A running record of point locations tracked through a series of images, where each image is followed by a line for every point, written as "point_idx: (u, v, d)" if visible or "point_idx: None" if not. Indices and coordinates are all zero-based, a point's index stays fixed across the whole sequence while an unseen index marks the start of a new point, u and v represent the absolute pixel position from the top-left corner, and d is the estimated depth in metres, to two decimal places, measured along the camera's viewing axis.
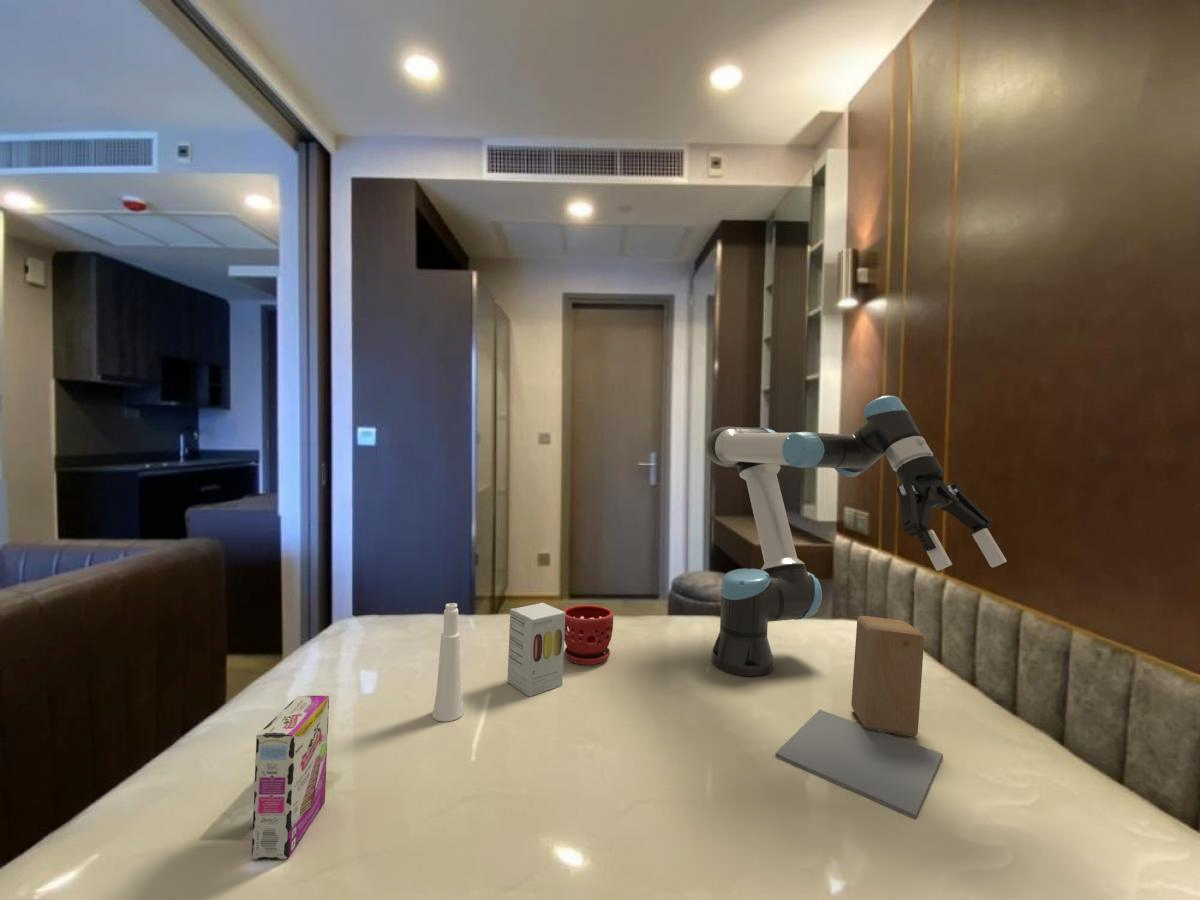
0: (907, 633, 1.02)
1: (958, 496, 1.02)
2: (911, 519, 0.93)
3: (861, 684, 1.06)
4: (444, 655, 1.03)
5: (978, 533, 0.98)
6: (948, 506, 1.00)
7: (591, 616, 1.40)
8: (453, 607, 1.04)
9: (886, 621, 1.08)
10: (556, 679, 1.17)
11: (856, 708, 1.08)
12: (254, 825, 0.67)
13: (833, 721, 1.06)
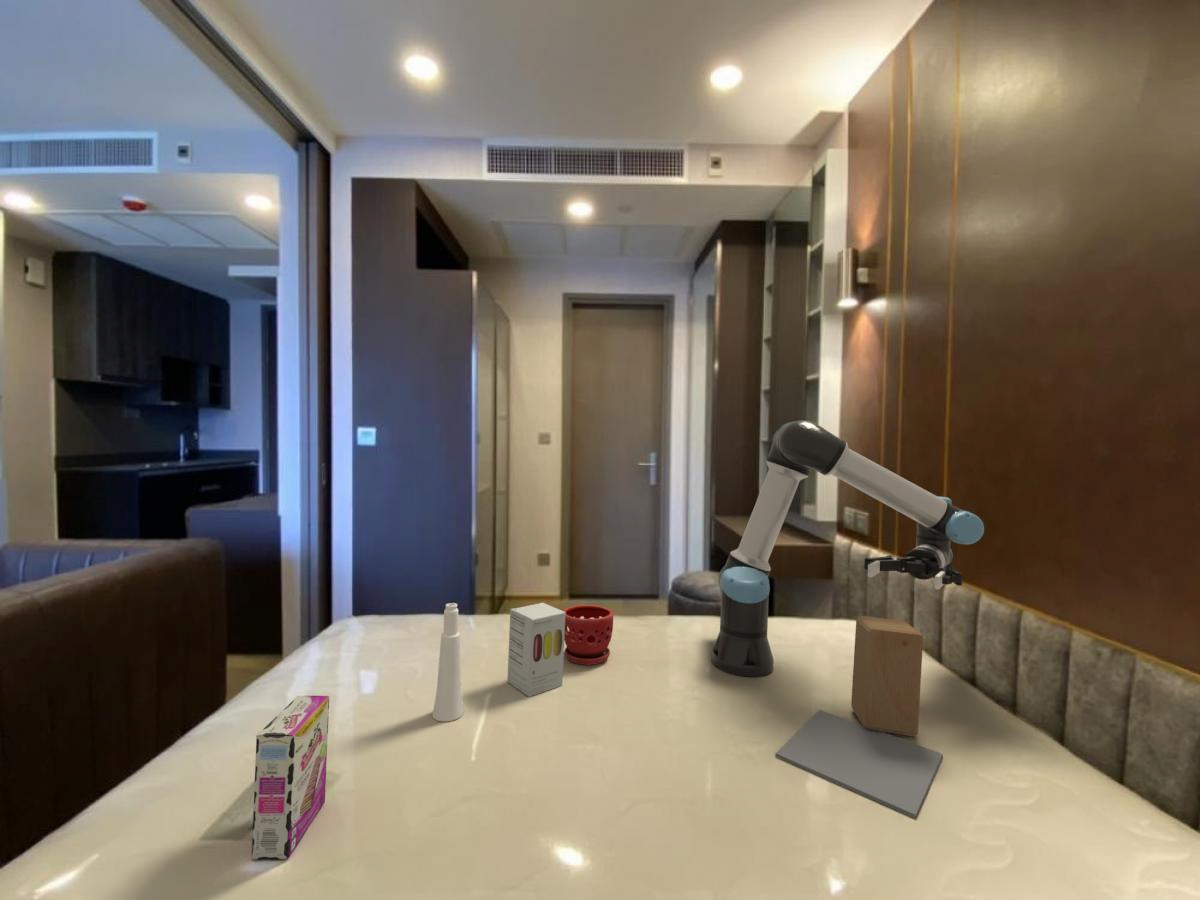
0: (906, 632, 1.02)
1: None
2: None
3: (861, 684, 1.06)
4: (444, 655, 1.03)
5: (879, 566, 1.23)
6: (901, 564, 1.25)
7: (591, 616, 1.40)
8: (453, 607, 1.04)
9: (885, 621, 1.09)
10: (556, 679, 1.17)
11: (856, 708, 1.08)
12: (254, 825, 0.67)
13: (833, 721, 1.06)
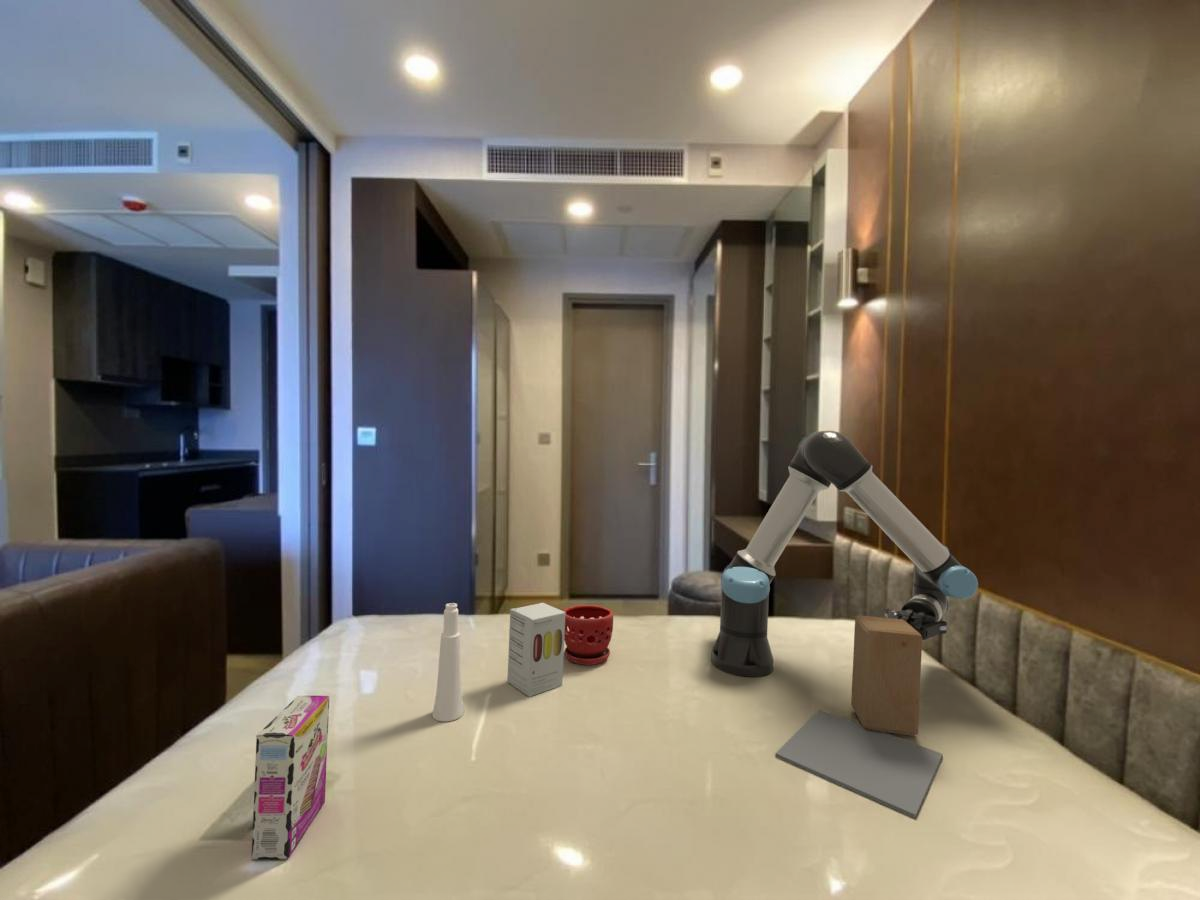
0: (905, 633, 1.02)
1: None
2: (927, 637, 1.15)
3: (860, 684, 1.06)
4: (444, 655, 1.03)
5: None
6: (909, 621, 1.22)
7: (591, 616, 1.40)
8: (453, 607, 1.04)
9: (884, 621, 1.08)
10: (556, 679, 1.17)
11: (856, 708, 1.08)
12: (254, 825, 0.67)
13: (833, 721, 1.06)
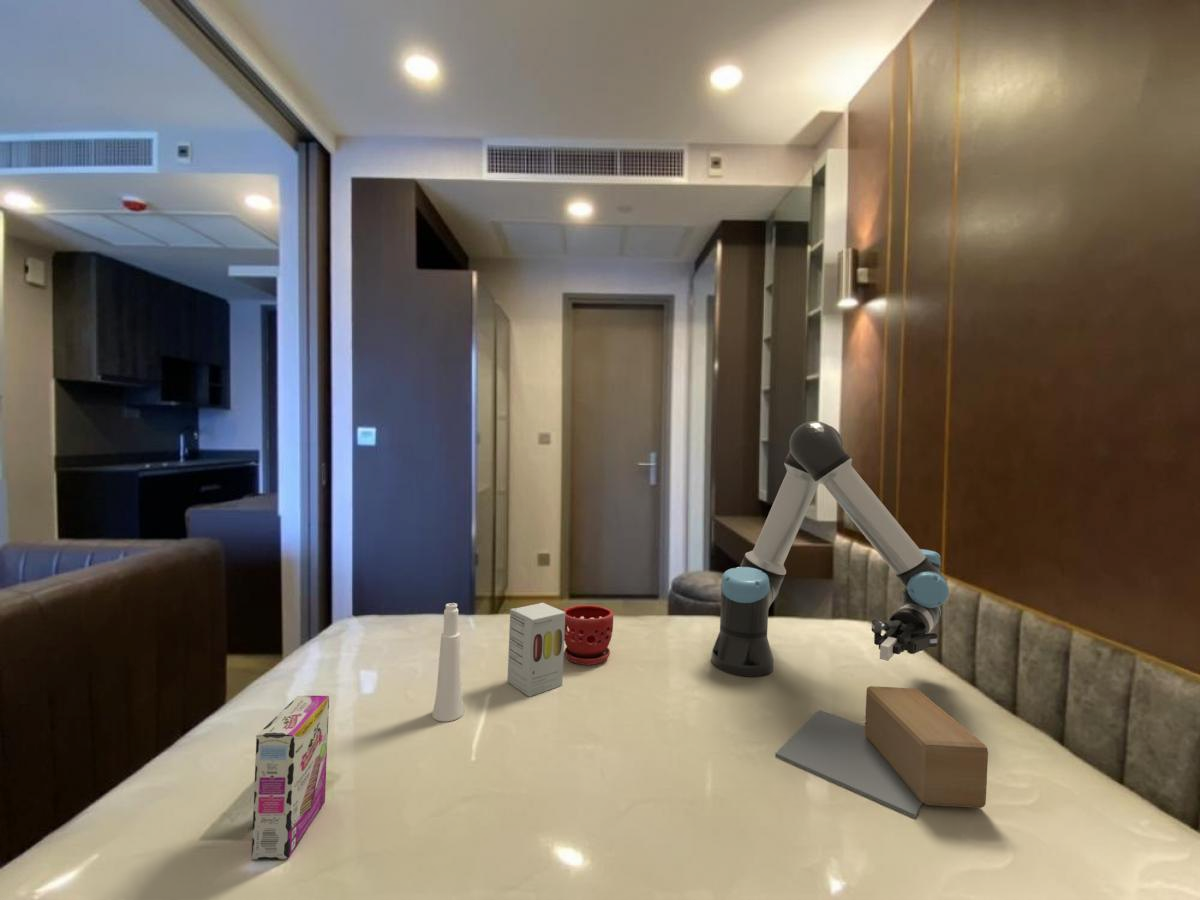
0: (966, 806, 0.81)
1: None
2: (915, 651, 1.06)
3: (883, 742, 0.93)
4: (444, 655, 1.03)
5: None
6: (897, 633, 1.14)
7: (591, 616, 1.40)
8: (453, 607, 1.04)
9: (957, 767, 0.81)
10: (556, 679, 1.17)
11: (868, 713, 0.99)
12: (254, 825, 0.67)
13: (833, 721, 1.06)
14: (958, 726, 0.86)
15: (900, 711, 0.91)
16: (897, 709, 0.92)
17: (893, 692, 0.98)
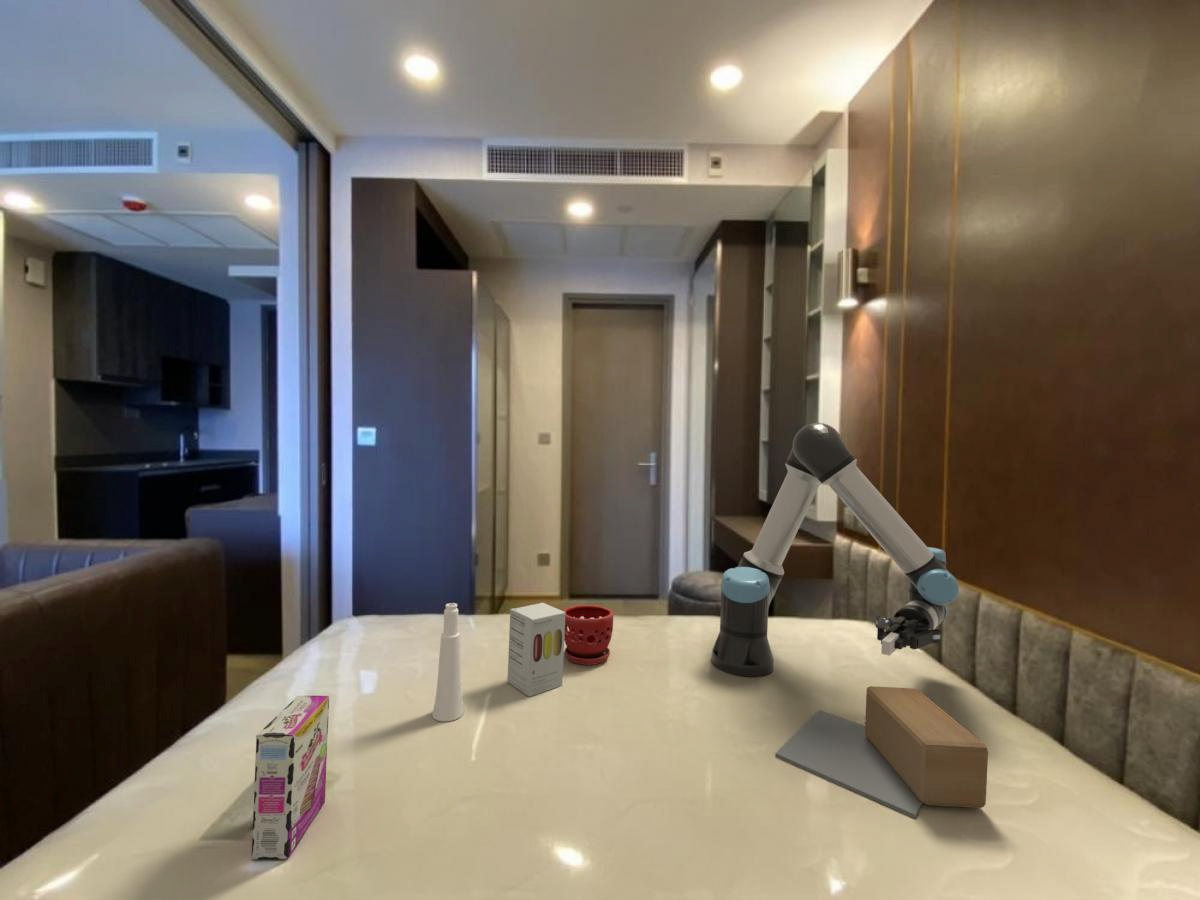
0: (966, 806, 0.81)
1: (884, 627, 1.18)
2: (918, 647, 1.08)
3: (883, 742, 0.93)
4: (444, 655, 1.03)
5: None
6: (900, 629, 1.15)
7: (591, 616, 1.40)
8: (453, 607, 1.04)
9: (957, 767, 0.81)
10: (556, 679, 1.17)
11: (868, 713, 0.99)
12: (254, 825, 0.67)
13: (833, 721, 1.06)
14: (958, 726, 0.86)
15: (900, 711, 0.91)
16: (897, 709, 0.92)
17: (893, 692, 0.98)
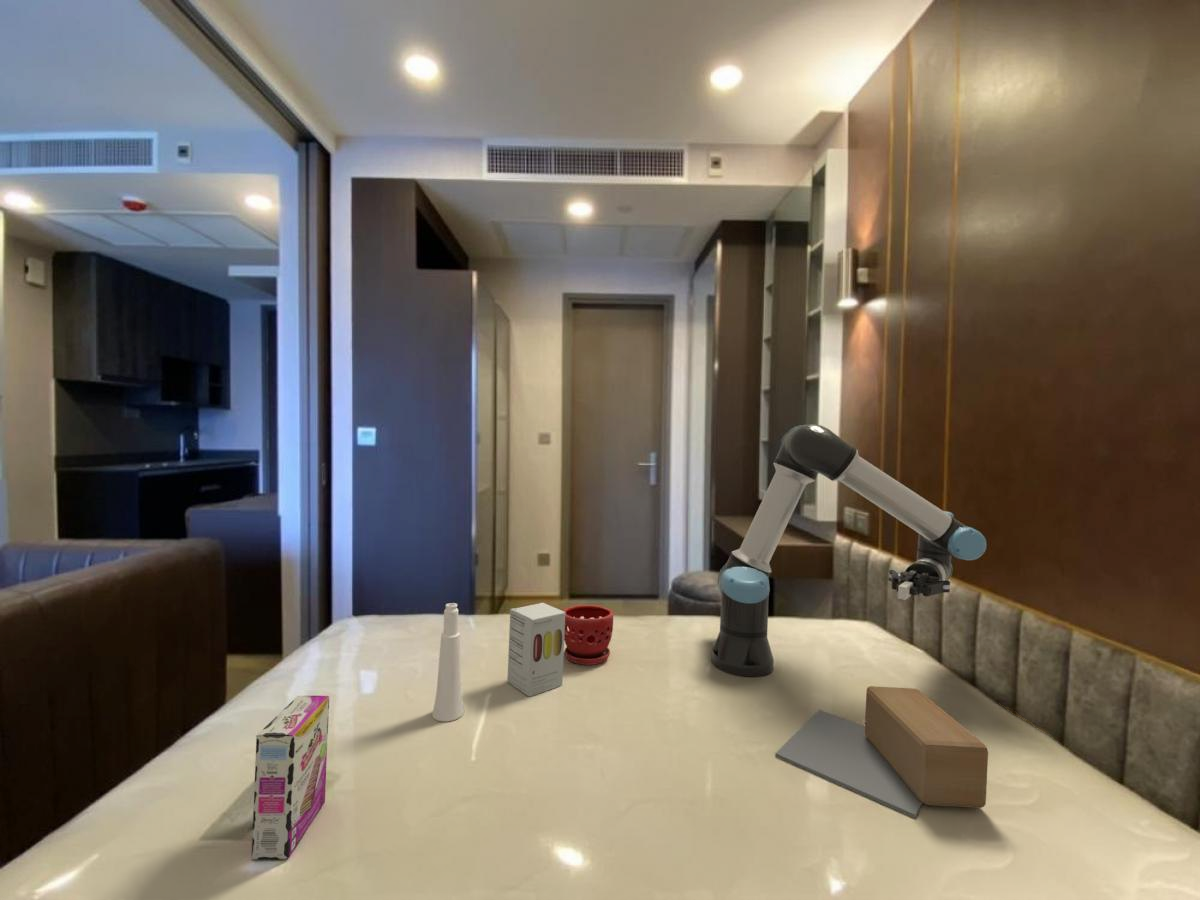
0: (966, 806, 0.81)
1: None
2: (930, 594, 1.17)
3: (883, 742, 0.93)
4: (444, 655, 1.03)
5: None
6: (913, 580, 1.24)
7: (591, 616, 1.40)
8: (453, 607, 1.04)
9: (957, 767, 0.81)
10: (556, 679, 1.17)
11: (868, 713, 0.99)
12: (254, 825, 0.67)
13: (833, 721, 1.06)
14: (958, 726, 0.86)
15: (900, 711, 0.91)
16: (897, 709, 0.92)
17: (893, 692, 0.98)
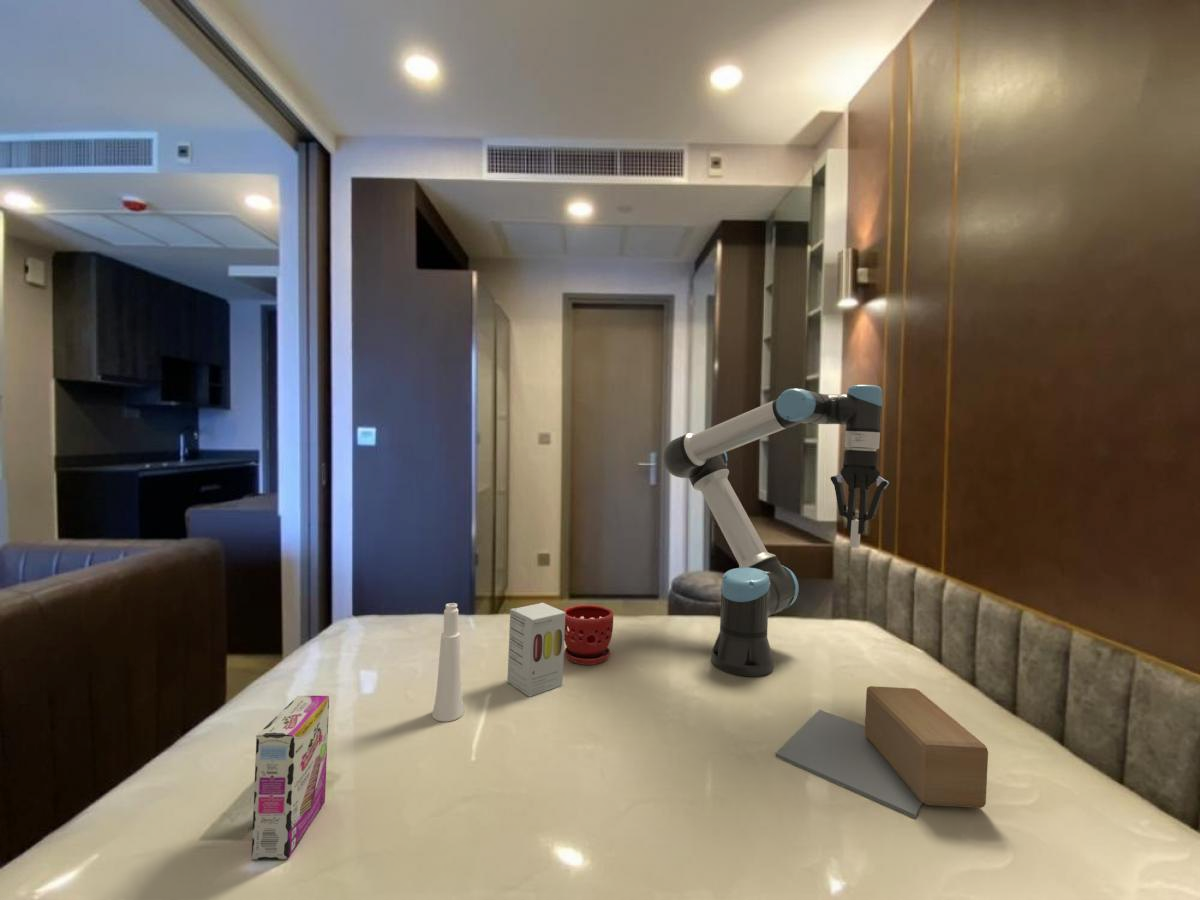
0: (966, 806, 0.81)
1: None
2: (839, 510, 1.29)
3: (883, 742, 0.93)
4: (444, 655, 1.03)
5: None
6: None
7: (591, 616, 1.40)
8: (453, 607, 1.04)
9: (957, 767, 0.81)
10: (556, 679, 1.17)
11: (868, 713, 0.99)
12: (254, 825, 0.67)
13: (833, 721, 1.06)
14: (958, 726, 0.86)
15: (900, 711, 0.91)
16: (897, 709, 0.92)
17: (893, 692, 0.98)
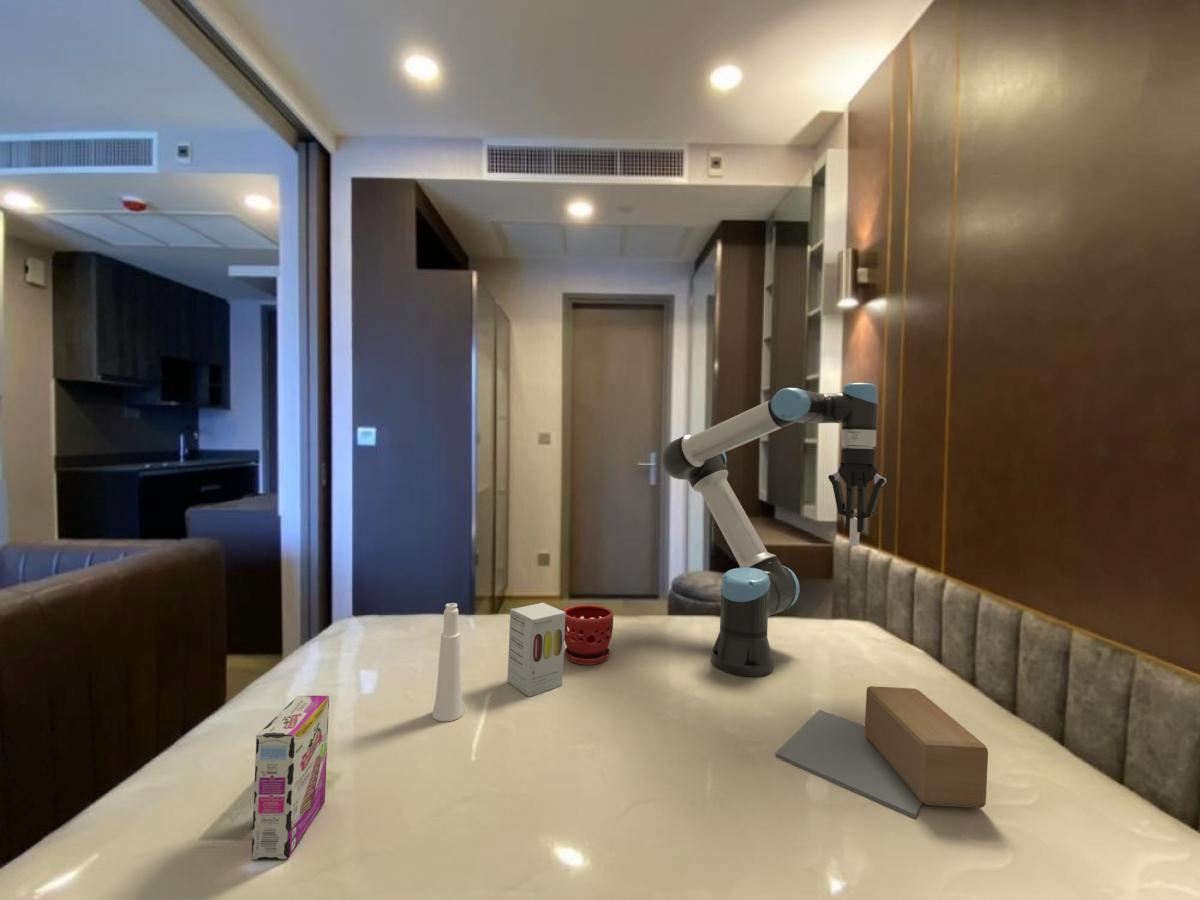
0: (966, 806, 0.81)
1: None
2: None
3: (883, 742, 0.93)
4: (444, 655, 1.03)
5: None
6: None
7: (591, 616, 1.40)
8: (453, 607, 1.04)
9: (957, 767, 0.81)
10: (556, 679, 1.17)
11: (868, 713, 0.99)
12: (254, 825, 0.67)
13: (833, 721, 1.06)
14: (958, 726, 0.86)
15: (900, 711, 0.91)
16: (897, 709, 0.92)
17: (893, 692, 0.98)
